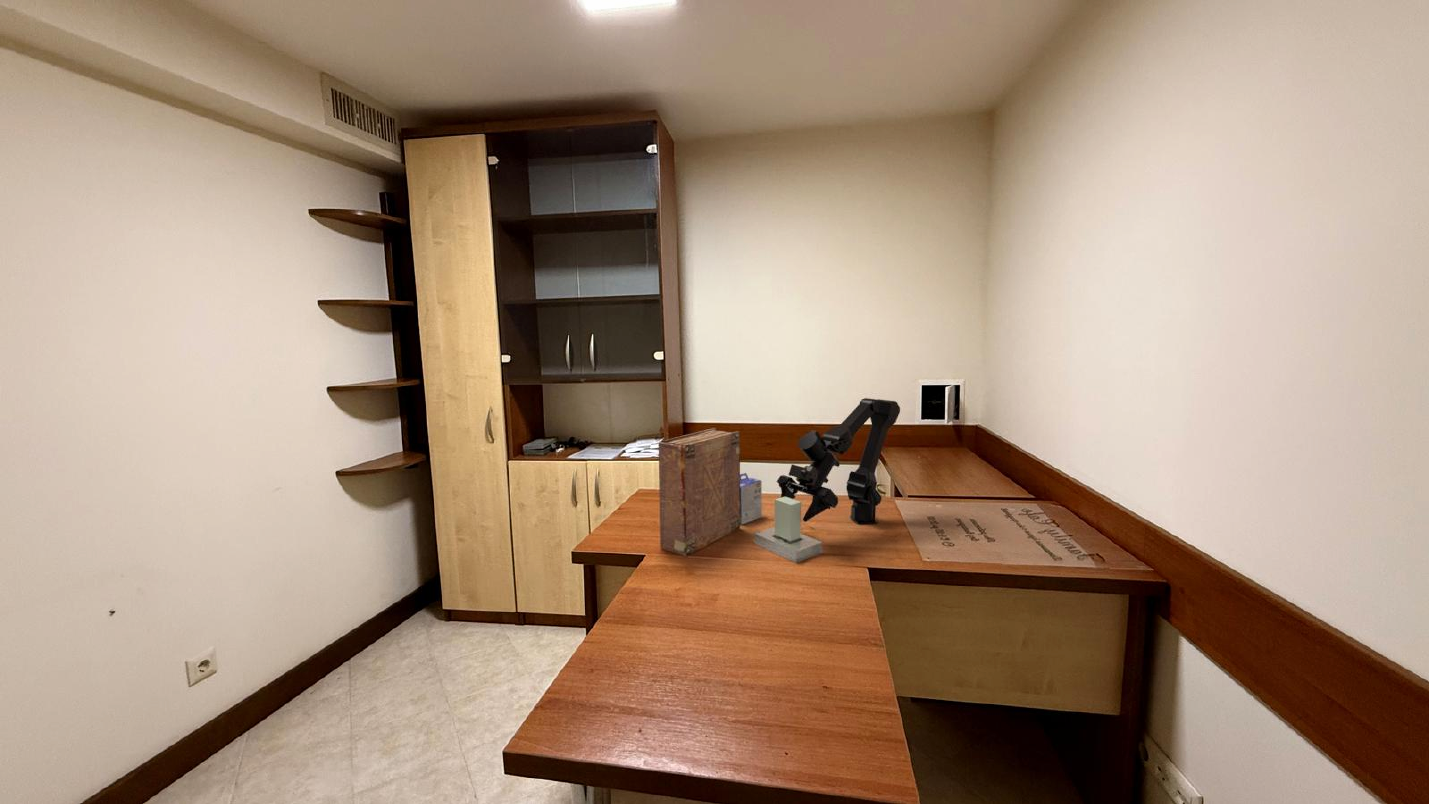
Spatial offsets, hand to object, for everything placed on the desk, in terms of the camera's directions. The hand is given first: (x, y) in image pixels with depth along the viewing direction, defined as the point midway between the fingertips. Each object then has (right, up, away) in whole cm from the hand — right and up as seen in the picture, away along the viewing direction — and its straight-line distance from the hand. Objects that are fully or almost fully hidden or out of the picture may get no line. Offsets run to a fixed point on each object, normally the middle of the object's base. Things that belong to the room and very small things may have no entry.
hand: (791, 516), depth 145 cm
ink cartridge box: (-11, -6, +23) cm, 26 cm away
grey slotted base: (-1, -9, 0) cm, 9 cm away
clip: (-1, -9, 0) cm, 9 cm away
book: (-25, -8, +7) cm, 27 cm away
